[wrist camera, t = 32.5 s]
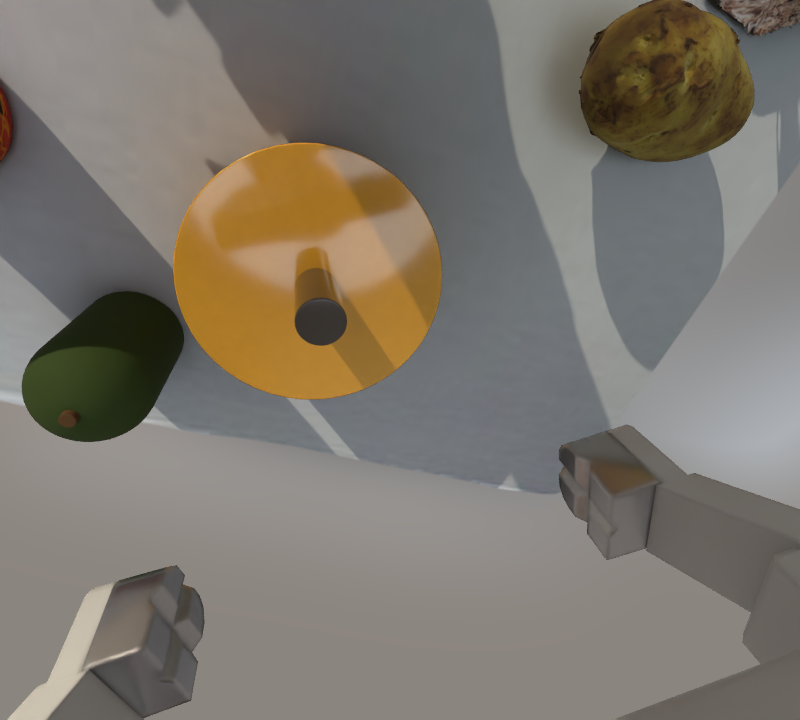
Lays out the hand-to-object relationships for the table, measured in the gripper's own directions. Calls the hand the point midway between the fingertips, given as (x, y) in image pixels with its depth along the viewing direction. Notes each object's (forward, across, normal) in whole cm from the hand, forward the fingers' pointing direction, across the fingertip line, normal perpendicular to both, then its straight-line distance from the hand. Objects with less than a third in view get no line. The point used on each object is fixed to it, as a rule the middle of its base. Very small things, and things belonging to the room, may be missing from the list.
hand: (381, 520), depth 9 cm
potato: (+25, -23, -4) cm, 34 cm away
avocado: (+24, +14, +3) cm, 28 cm away
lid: (+18, +1, +1) cm, 18 cm away
